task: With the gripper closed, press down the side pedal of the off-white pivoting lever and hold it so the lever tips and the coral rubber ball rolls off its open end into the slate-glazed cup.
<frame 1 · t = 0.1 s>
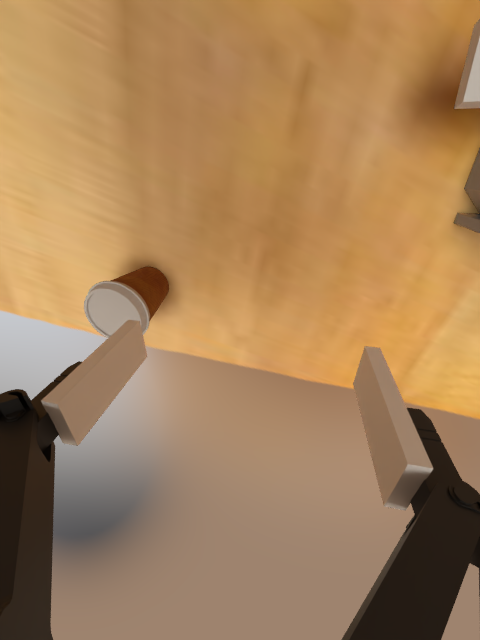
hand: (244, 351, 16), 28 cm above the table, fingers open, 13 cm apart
disposable coffee cup: (152, 283, 48), on the table
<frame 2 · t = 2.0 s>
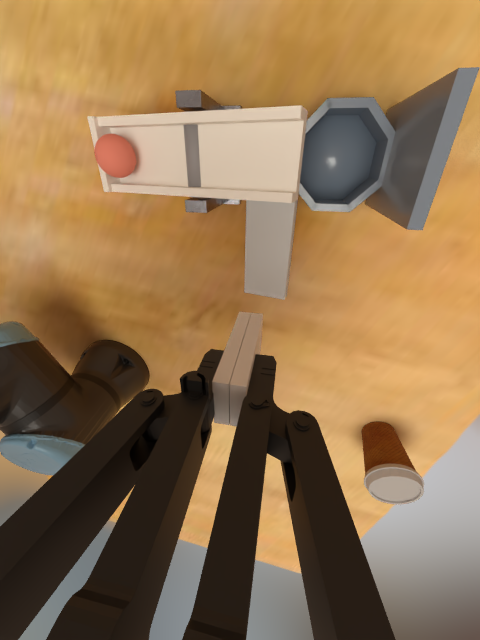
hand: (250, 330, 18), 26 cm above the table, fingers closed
rubber ball: (115, 156, 28), point 11 cm above the table, tilted 20°, touching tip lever
disposable coffee cup: (377, 430, 56), on the table
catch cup: (333, 160, 34), on the table
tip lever: (195, 211, 30), point 11 cm above the table, hinge at -12.0°, touching rubber ball
trough stand: (219, 158, 36), on the table
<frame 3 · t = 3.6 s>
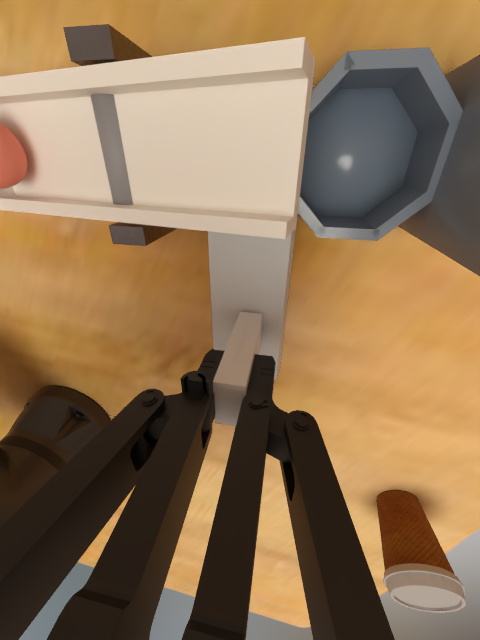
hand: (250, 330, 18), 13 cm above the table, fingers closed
disposable coffee cup: (396, 499, 45), on the table
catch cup: (349, 159, 22), on the table
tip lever: (128, 243, 18), point 11 cm above the table, hinge at -11.0°, touching gripper, rubber ball
trough stand: (180, 157, 25), on the table
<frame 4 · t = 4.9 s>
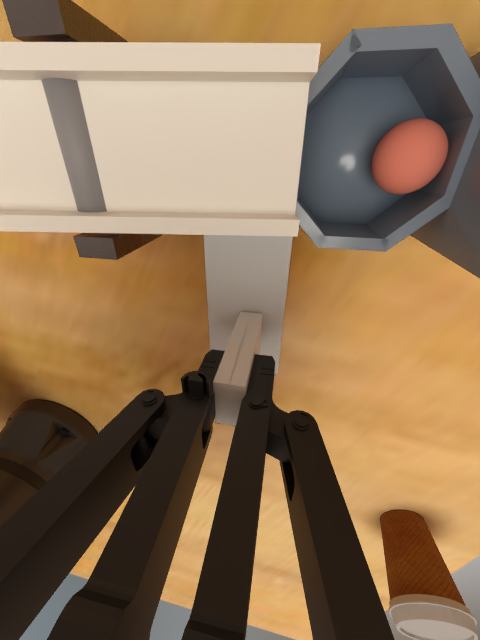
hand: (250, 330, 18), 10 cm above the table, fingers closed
rubber ball: (407, 158, 16), point 4 cm above the table, tilted 9°, touching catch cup
disposable coffee cup: (401, 518, 43), on the table
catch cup: (353, 158, 20), on the table
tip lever: (102, 256, 16), point 11 cm above the table, hinge at 8.4°, touching gripper
trough stand: (164, 156, 22), on the table
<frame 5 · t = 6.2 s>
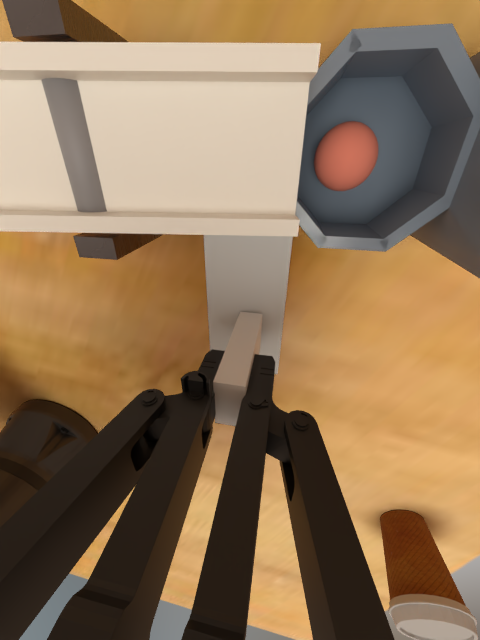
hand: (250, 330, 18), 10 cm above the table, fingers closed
rubber ball: (344, 158, 18), point 3 cm above the table, tilted 122°, touching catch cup
disposable coffee cup: (401, 518, 43), on the table
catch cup: (353, 158, 20), on the table
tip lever: (102, 256, 16), point 11 cm above the table, hinge at 8.4°, touching gripper
trough stand: (164, 156, 22), on the table
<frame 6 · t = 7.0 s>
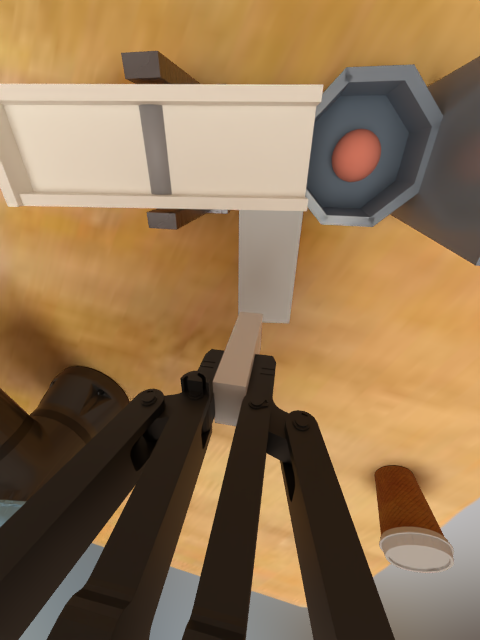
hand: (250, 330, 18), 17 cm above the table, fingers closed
rubber ball: (355, 156, 24), point 3 cm above the table, tilted 90°, touching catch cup
disposable coffee cup: (393, 474, 48), on the table
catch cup: (350, 156, 26), on the table
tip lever: (165, 227, 22), point 11 cm above the table, hinge at 8.4°
trough stand: (201, 155, 28), on the table
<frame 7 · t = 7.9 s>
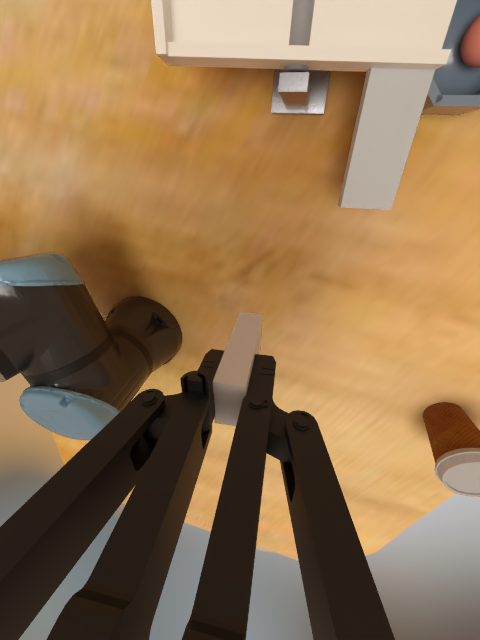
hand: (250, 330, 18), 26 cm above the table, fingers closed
disposable coffee cup: (442, 413, 49), on the table
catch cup: (459, 47, 26), on the table
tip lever: (294, 91, 22), point 11 cm above the table, hinge at 8.4°
trough stand: (304, 50, 29), on the table
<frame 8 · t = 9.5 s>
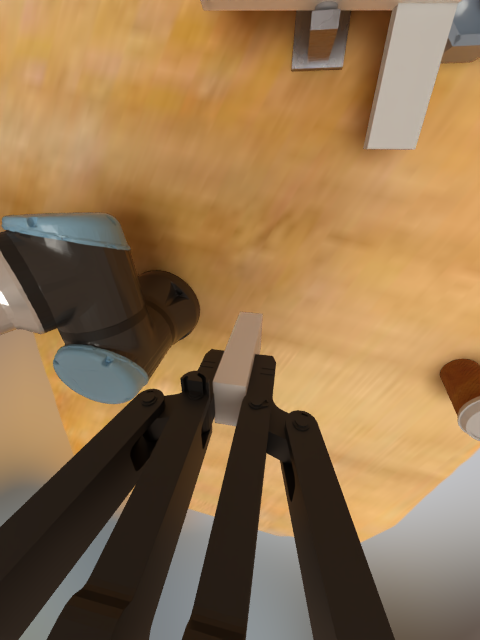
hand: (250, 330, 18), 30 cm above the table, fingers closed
disposable coffee cup: (458, 371, 50), on the table
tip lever: (325, 29, 24), point 11 cm above the table, hinge at 8.4°
trough stand: (323, 5, 30), on the table
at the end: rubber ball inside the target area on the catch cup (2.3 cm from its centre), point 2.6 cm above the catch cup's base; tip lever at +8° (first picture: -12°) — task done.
